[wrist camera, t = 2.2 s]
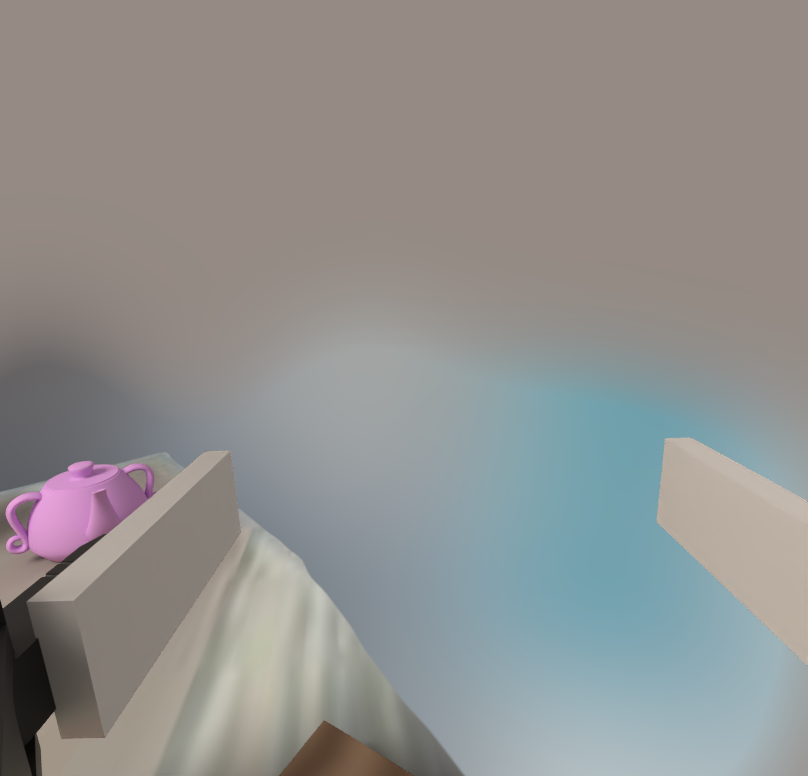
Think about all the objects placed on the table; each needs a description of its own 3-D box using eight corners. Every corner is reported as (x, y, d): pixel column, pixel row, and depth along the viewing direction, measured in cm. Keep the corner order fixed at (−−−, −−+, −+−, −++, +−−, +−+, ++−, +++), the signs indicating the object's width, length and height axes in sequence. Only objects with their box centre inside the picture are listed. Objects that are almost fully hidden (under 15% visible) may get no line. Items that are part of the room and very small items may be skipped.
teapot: (25, 612, 60) (1, 517, 57) (5, 549, 74) (-16, 471, 71) (194, 541, 75) (182, 464, 72) (149, 501, 90) (138, 435, 87)
